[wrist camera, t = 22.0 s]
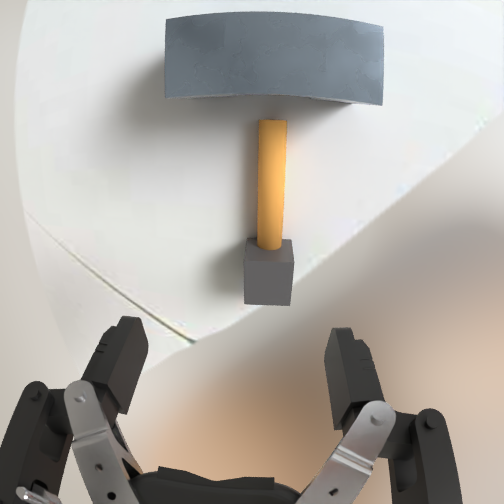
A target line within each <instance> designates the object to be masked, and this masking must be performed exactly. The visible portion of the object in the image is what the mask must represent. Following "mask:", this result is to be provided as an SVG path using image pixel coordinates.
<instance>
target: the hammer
mask: <svg viewBox="0 0 504 504" xmlns="http://www.w3.org/2000/svg"><path fill="white" fill-rule="evenodd" d="M286 136H287V121H285V120H259V151H258V224H257V239H256V238H247V244H246V250H245V257H244V304H251V305H281V306H290V301H291V291H292V281H293V271H294V256H293V249H292V241H291V240H286V239H282V227H283V208H284V187H285V164H286Z"/></svg>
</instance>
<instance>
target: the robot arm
mask: <svg viewBox="0 0 504 504" xmlns="http://www.w3.org/2000/svg"><path fill="white" fill-rule="evenodd" d="M147 354H148V340H147V337H146V334H145V331H144V328H143V324H142V321H141V319H140V318H139V317H130V316H122V317H121V319H120V321H119V323H118V325H117V327H116V326H111V327H110V328H109V329H108V330H107V331H106V332H105V333H104V334H103V336H102V338H101V340H100V342H99V345H97V347H96V349H95V352H94V353H93V355H92V357H91V359H90V361H89V363H88V365H87V368H86V370H85V372H84V374H83V376H82V378H81V379H80V380H78V381H74V382H72V383H71V384H70V385H69V386H68V387H67V388H66V389H48V388H47V387H46V385H45V384H44V383H42V382H40V381H34V382H31V383H30V384H28V385H27V386H26V387H25V389H24V390H23V392H22V395H21V397H20V399H19V401H18V404H17V406H16V408H15V411H14V413H13V415H12V418H11V420H10V423H9V425H8V428H7V431H6V434H5V436H4V439H3V441H2V445H1V447H0V504H62V503H61V501H60V499H59V498H58V494H59V489H60V485H61V480H62V477H63V473H64V468H65V464H66V461H67V457H68V453H69V450H70V447H71V444H72V449H73V452H74V455H75V458H76V461H77V464H78V467H79V470H80V472H81V475H82V478H83V480H84V483H85V485H86V488H87V490H88V493H89V495H90V497H91V500H92V501H93V504H352V503H353V501H354V500H355V499H356V497H357V496H358V494H359V492H360V491H361V489H362V488H363V486H364V485H365V483H366V482H367V480H368V478H369V477H370V475H371V473H372V470H373V468H372V466H373V464H374V462H375V460H376V459H377V457H381V458H388V464H389V472H390V482H391V493H392V504H463V503H462V495H461V489H460V483H459V478H458V472H457V467H456V463H455V457H454V453H453V449H452V444H451V440H450V436H449V432H448V428H447V425H446V421H445V418H444V416H443V415H442V414H441V413H440V412H439V411H437V410H435V409H431V408H429V409H424V410H422V411H421V412H420V413H419V414H418V415H414V414H406V413H401V412H397V411H395V410H394V409H393V408H392V407H391V406H390V405H389V404H388V403H386V402H385V400H384V397H383V393H382V390H381V386H380V382H379V379H378V376H377V372H376V369H375V365H374V362H373V361H372V356H371V353H370V349H369V348H368V346H367V345H366V344H365V343H364V341H363V340H355V339H354V336H353V332H352V330H351V328H333V329H332V330H331V334H330V337H329V340H328V344H327V347H326V351H325V357H324V362H325V370H326V376H327V383H328V389H329V396H330V403H331V410H332V417H333V424H334V430H343V438H342V439H341V441H340V442H339V444H338V445H337V447H336V448H335V450H334V451H333V452H332V454H331V455H330V457H329V458H328V459H327V461H326V462H325V463H324V465H323V466H322V468H321V469H320V470H319V472H318V473H317V474H316V476H314V478H313V479H312V480H311V481H310V483H309V484H308V485H307V486H306V488H305V489H304V490H303V491H302V492H301V494H300V493H299V492H297V491H296V490H294V489H292V488H290V487H288V486H286V485H283V484H279V483H275V482H274V477H271V478H267V477H242V478H235V479H228V480H221V481H212V480H209V479H206V478H203V477H200V476H198V475H195V474H192V473H190V472H187V471H183V470H177V469H171V468H166V467H160V466H159V468H158V471H155V472H148V473H143V471H142V470H141V468H140V466H139V465H138V463H137V462H136V460H135V459H134V457H133V455H132V454H131V452H130V450H129V447H128V445H127V443H126V441H125V439H124V436H123V434H122V432H121V430H120V427H119V425H118V422H117V421H116V417H117V415H118V413H121V414H127V412H128V409H129V406H130V403H131V400H132V397H133V394H134V391H135V388H136V385H137V382H138V379H139V376H140V374H141V371H142V368H143V365H144V362H145V359H146V357H147ZM73 436H74V441H72V440H73Z"/></svg>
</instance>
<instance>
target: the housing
mask: <svg viewBox="0 0 504 504" xmlns="http://www.w3.org/2000/svg"><path fill="white" fill-rule="evenodd" d="M383 77H384V35H383V27H382V26H378V25H373V24H369V23H364V22H359V21H354V20H348V19H342V18H336V17H329V16H321V15H312V14H301V13H287V12H226V13H212V14H201V15H192V16H185V17H178V18H171V19H166V31H165V98H205V97H232V96H237V95H286V96H303V97H310V99H317V100H328V101H337V102H345V103H352V104H368V105H380V106H382V102H383Z"/></svg>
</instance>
